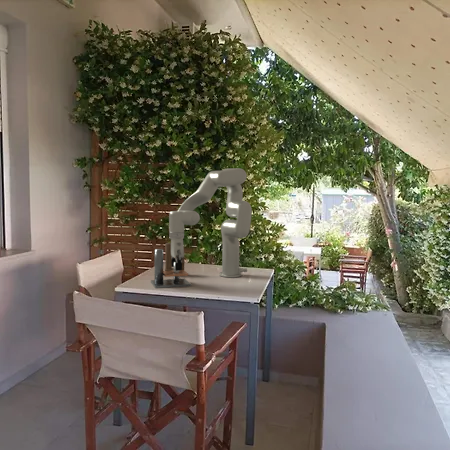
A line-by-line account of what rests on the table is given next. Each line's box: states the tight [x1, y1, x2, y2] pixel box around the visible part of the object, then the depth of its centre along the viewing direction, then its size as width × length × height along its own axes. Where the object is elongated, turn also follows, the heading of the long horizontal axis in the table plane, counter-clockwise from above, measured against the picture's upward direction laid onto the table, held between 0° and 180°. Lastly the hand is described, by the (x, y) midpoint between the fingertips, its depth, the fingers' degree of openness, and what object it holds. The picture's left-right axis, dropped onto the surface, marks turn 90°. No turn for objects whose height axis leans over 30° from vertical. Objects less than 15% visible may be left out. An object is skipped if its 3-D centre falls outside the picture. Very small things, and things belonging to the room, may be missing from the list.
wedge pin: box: [173, 262, 181, 283], centre depth 226 cm, size 3×3×10 cm
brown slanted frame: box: [164, 242, 185, 271], centre depth 249 cm, size 4×11×18 cm, turn 99°
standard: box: [150, 248, 192, 289], centre depth 225 cm, size 18×14×18 cm
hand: (176, 268), depth 226 cm, fingers open, 9 cm apart
